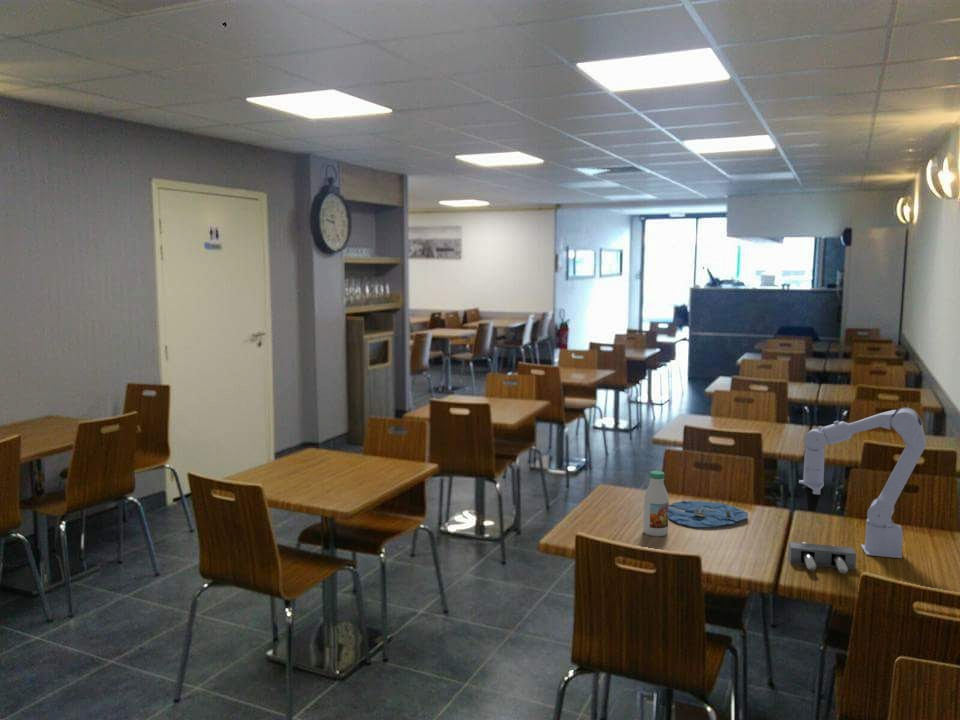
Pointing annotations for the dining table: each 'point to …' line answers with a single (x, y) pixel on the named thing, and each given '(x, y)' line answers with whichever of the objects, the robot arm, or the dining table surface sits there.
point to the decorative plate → (705, 513)
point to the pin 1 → (808, 559)
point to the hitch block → (821, 554)
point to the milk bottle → (656, 506)
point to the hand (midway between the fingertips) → (811, 510)
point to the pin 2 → (839, 562)
